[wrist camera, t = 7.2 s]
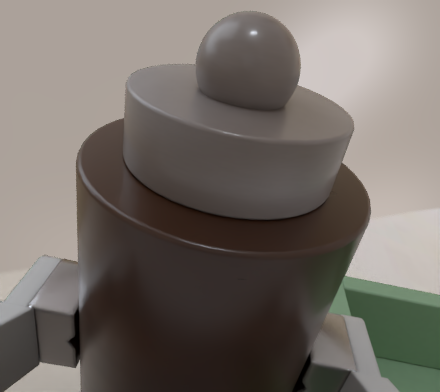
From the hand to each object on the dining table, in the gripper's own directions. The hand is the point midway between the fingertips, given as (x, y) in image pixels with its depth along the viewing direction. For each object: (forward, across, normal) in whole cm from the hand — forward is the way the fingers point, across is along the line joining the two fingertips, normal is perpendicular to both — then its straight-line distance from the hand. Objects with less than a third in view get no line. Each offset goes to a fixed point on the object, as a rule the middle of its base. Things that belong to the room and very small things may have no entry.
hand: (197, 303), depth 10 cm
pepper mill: (-1, 0, +6) cm, 7 cm away
